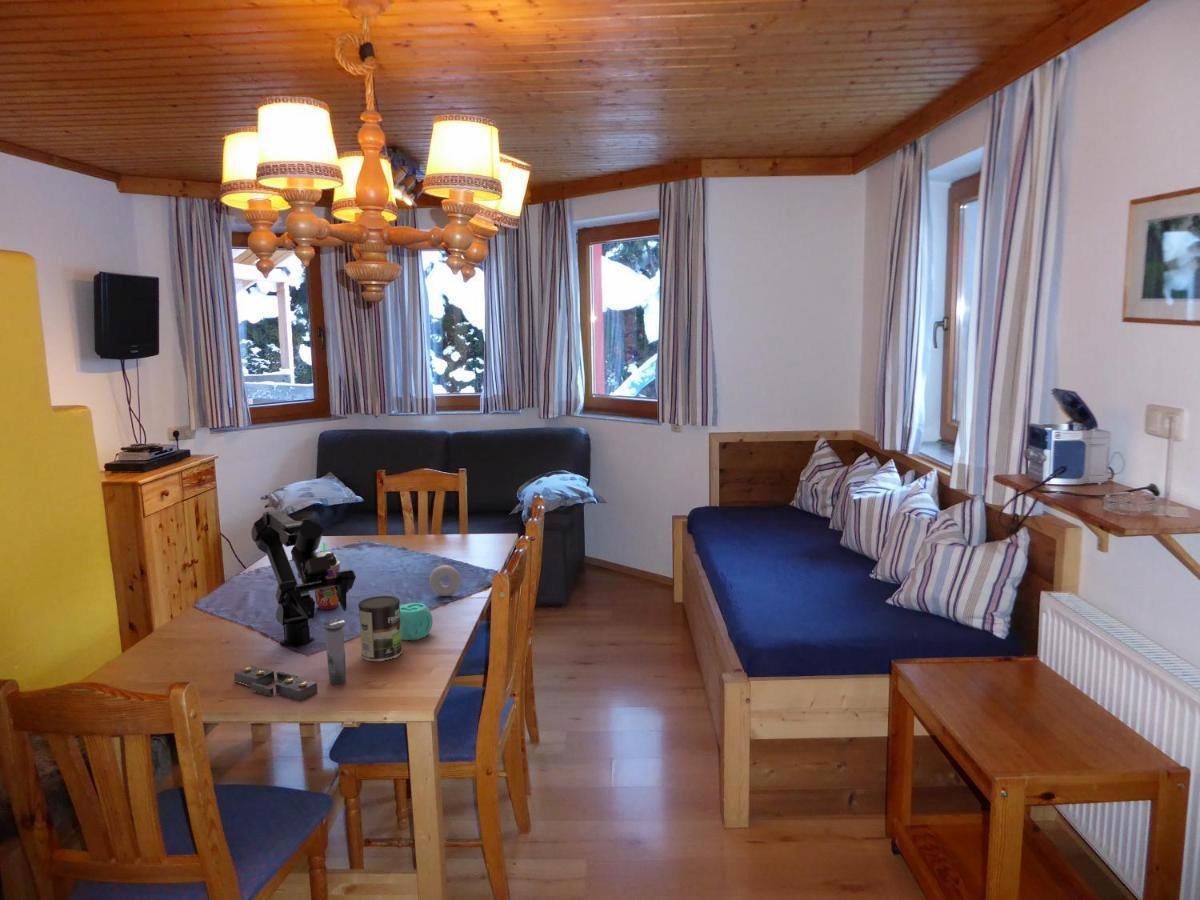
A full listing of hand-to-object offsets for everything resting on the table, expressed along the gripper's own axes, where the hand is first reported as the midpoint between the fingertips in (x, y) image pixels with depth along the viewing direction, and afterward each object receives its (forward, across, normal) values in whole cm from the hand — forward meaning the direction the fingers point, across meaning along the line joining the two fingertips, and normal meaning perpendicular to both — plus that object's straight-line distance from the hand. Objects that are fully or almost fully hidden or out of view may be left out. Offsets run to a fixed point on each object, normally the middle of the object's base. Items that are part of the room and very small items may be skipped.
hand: (327, 613), depth 206 cm
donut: (-16, +49, +33) cm, 62 cm away
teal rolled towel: (+3, +26, +17) cm, 32 cm away
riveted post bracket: (+10, -14, +10) cm, 20 cm away
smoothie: (-27, +17, +43) cm, 54 cm away
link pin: (+16, -1, +6) cm, 17 cm away
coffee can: (+8, +14, +12) cm, 21 cm away
